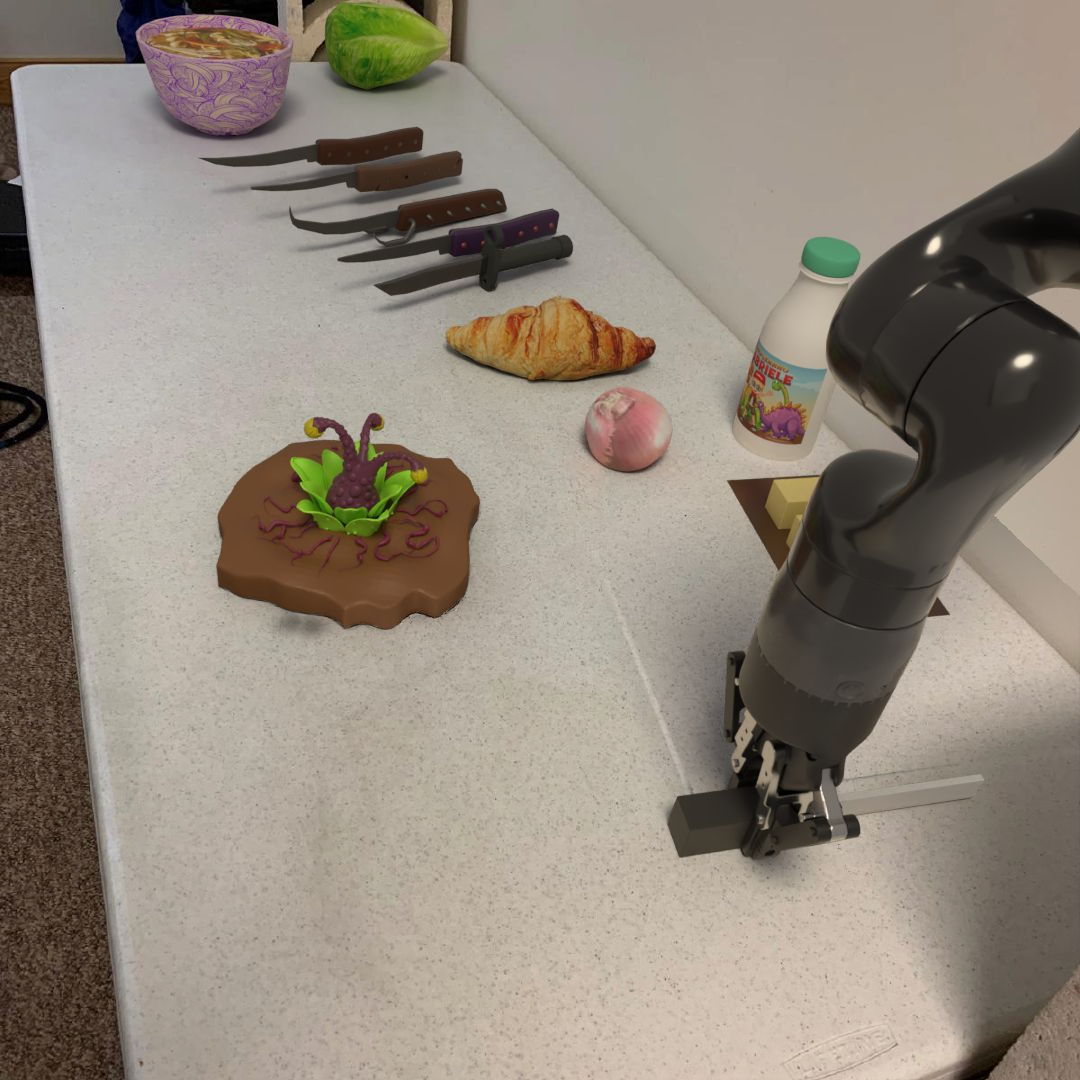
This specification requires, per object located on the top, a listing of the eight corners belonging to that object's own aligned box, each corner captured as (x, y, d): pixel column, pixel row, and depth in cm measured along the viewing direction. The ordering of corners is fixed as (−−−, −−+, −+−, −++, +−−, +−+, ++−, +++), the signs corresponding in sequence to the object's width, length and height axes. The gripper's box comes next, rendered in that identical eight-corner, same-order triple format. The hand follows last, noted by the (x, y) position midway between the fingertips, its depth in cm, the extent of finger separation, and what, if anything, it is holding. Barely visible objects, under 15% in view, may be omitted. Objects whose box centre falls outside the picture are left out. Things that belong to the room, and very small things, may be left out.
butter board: (845, 481, 91) (848, 472, 90) (945, 623, 78) (950, 614, 78) (724, 488, 88) (726, 479, 88) (808, 637, 75) (811, 628, 75)
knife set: (196, 195, 118) (191, 129, 113) (419, 162, 138) (424, 104, 133) (362, 331, 101) (366, 260, 96) (591, 271, 120) (604, 209, 115)
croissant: (443, 396, 100) (443, 355, 93) (446, 311, 104) (447, 265, 96) (649, 406, 102) (666, 366, 95) (646, 322, 106) (662, 277, 98)
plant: (261, 446, 86) (250, 332, 78) (486, 474, 86) (497, 363, 79) (185, 611, 71) (162, 488, 63) (458, 644, 71) (467, 526, 64)
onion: (567, 439, 91) (577, 372, 87) (642, 428, 94) (656, 363, 89) (601, 492, 86) (614, 424, 81) (680, 479, 89) (697, 413, 84)
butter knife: (960, 781, 67) (978, 754, 65) (979, 811, 65) (998, 785, 63) (667, 823, 62) (676, 795, 60) (679, 858, 60) (689, 830, 58)
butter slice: (847, 501, 87) (858, 474, 85) (863, 523, 85) (874, 496, 83) (764, 506, 85) (773, 479, 83) (778, 529, 83) (787, 502, 81)
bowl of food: (156, 97, 144) (143, 9, 136) (297, 104, 148) (293, 19, 140) (140, 149, 130) (126, 55, 122) (298, 155, 134) (293, 64, 126)
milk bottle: (765, 412, 98) (825, 219, 85) (826, 452, 94) (899, 256, 81) (713, 436, 94) (767, 237, 81) (775, 479, 90) (843, 277, 77)
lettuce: (463, 96, 159) (467, 14, 151) (341, 102, 151) (339, 16, 143) (430, 68, 168) (432, -11, 160) (313, 72, 159) (310, -10, 151)
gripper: (966, 743, 47) (851, 923, 58) (837, 545, 57) (760, 732, 68) (822, 762, 45) (732, 945, 56) (715, 555, 55) (657, 745, 66)
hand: (748, 827), depth 62 cm, fingers closed on butter knife, 2 cm apart
